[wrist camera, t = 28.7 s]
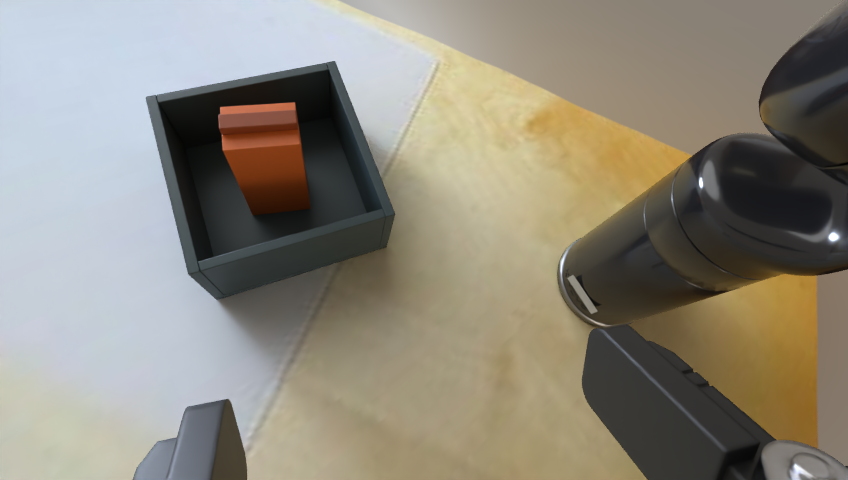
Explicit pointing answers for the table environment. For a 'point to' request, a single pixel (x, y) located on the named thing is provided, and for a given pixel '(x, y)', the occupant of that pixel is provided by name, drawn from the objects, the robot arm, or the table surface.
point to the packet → (266, 156)
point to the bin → (224, 201)
